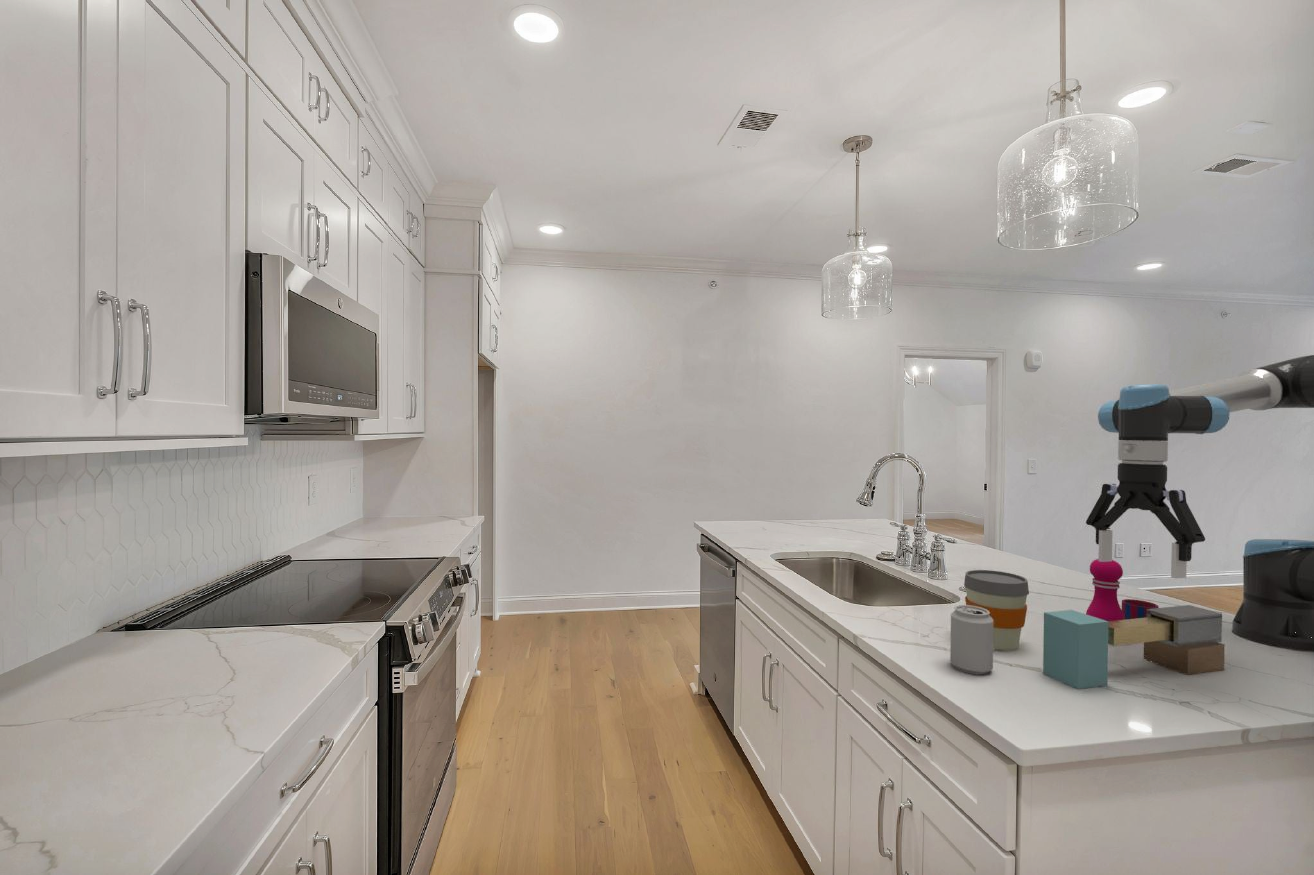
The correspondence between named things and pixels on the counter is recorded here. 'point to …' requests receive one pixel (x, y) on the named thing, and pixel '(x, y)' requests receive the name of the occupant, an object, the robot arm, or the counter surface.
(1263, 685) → the counter surface
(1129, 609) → the cup
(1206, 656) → the sleeve stand
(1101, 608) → the pepper mill
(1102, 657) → the socket block
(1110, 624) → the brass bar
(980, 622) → the can
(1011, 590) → the reusable coffee cup
